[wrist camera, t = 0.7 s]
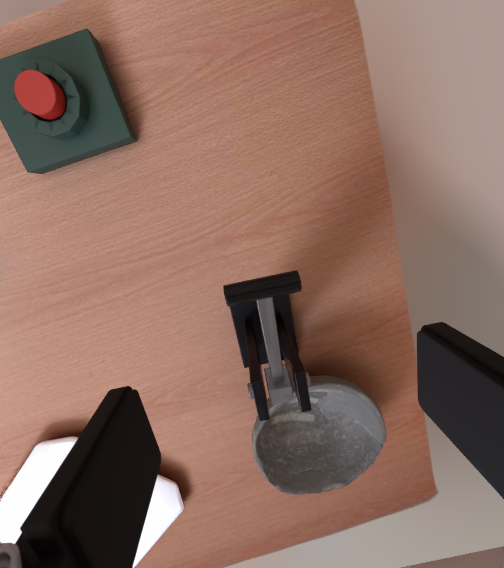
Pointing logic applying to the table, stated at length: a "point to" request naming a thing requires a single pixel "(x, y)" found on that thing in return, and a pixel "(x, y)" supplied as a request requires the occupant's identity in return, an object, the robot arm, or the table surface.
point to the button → (40, 94)
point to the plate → (40, 470)
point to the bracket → (256, 352)
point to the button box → (79, 105)
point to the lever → (268, 324)
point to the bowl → (319, 438)
